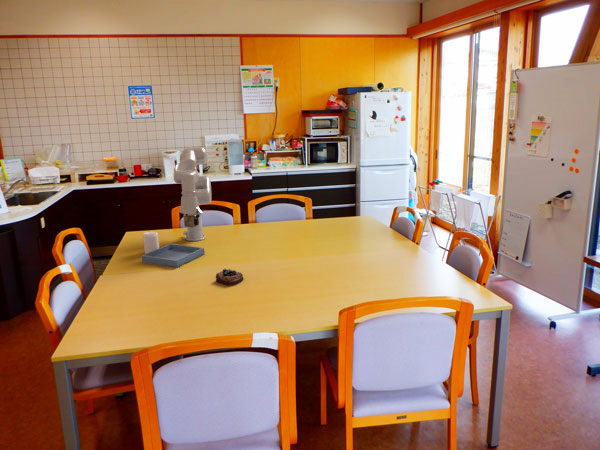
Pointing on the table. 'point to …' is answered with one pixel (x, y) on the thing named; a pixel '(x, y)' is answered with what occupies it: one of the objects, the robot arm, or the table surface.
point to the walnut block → (189, 221)
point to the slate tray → (173, 255)
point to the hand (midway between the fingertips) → (191, 224)
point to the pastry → (229, 277)
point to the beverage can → (150, 241)
